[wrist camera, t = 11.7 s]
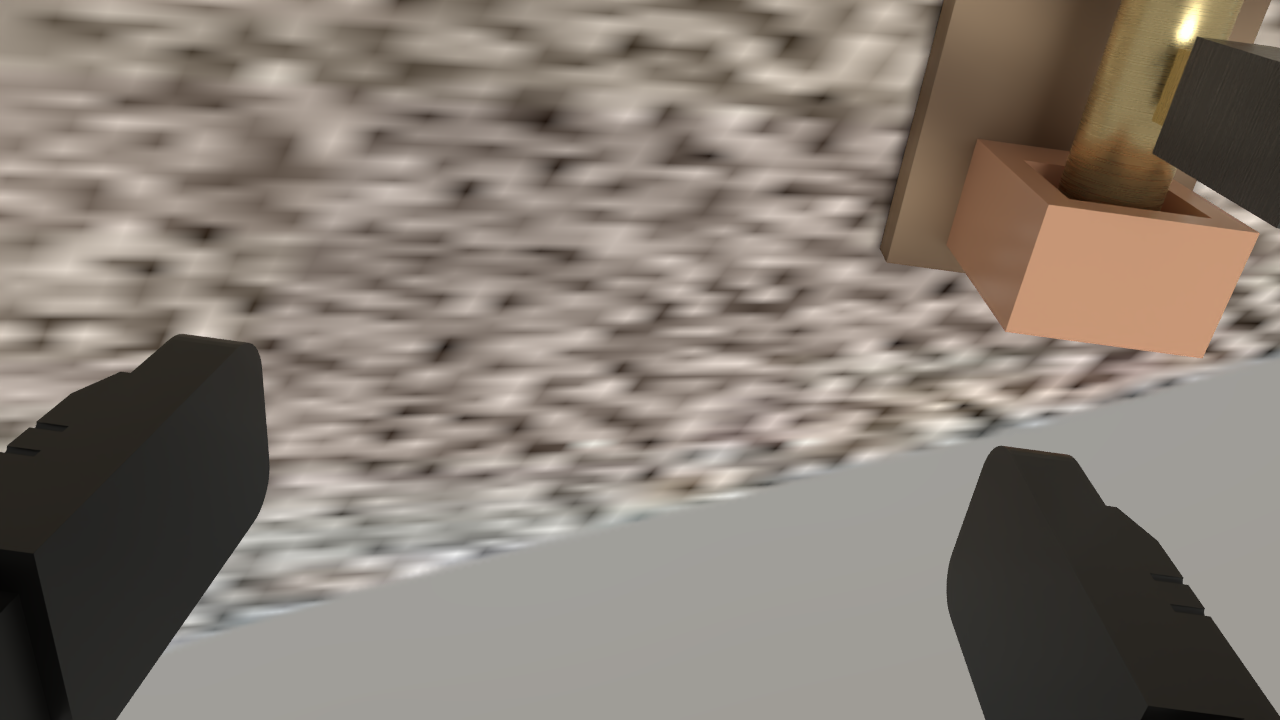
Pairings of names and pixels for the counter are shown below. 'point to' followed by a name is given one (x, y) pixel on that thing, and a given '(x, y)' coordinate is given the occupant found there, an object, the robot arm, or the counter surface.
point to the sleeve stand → (1000, 103)
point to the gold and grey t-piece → (1179, 111)
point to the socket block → (1094, 256)
